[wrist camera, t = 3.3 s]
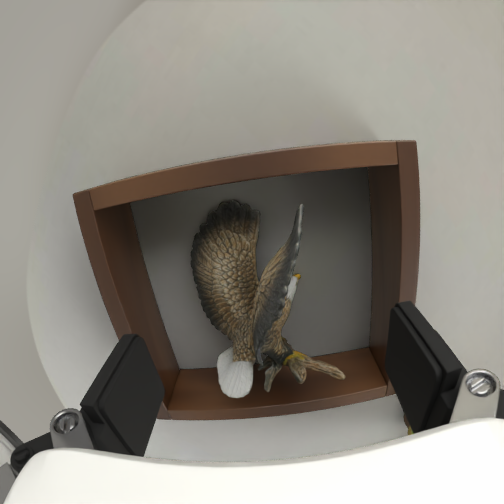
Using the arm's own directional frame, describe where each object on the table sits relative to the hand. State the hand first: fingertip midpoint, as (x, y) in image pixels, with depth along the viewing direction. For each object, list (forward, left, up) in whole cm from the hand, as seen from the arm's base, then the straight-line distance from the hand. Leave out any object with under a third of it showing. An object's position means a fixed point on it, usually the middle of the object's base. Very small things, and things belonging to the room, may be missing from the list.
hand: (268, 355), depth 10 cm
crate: (0, 0, -7) cm, 7 cm away
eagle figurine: (0, 0, -7) cm, 7 cm away
